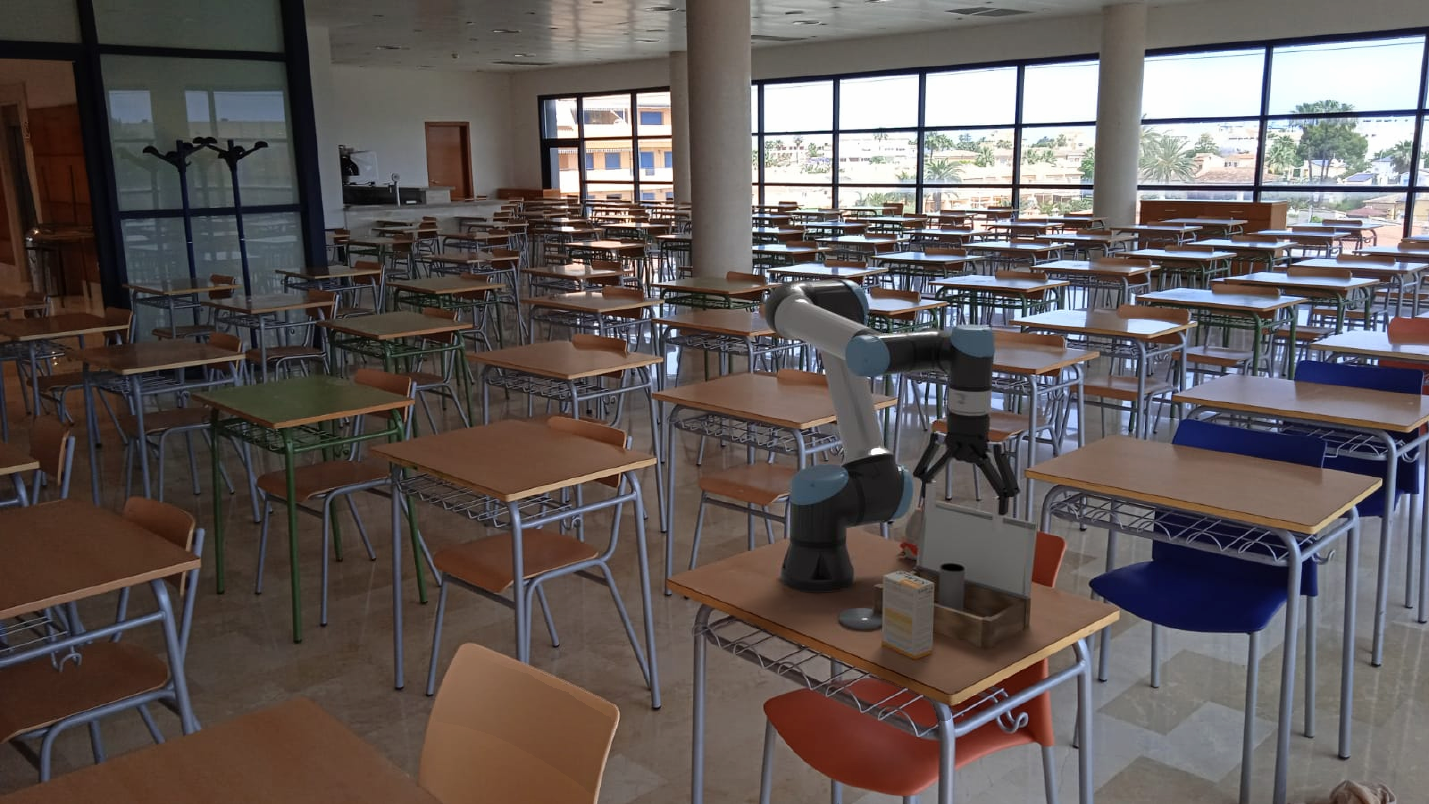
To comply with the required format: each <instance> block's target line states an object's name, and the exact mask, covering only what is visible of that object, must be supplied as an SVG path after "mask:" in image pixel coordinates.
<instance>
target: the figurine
mask: <svg viewBox="0 0 1429 804" xmlns="http://www.w3.org/2000/svg"><path fill="white" fill-rule="evenodd" d="M921 515H922V508H921V507H917V508H915V509H914V511H913V512H912V513H911V515H910V517H909V519H908V521H907V524H906V526H905V528H904V529H905V530H904V534H901V535H900V536H901V541H902V543H900V544H899V547H900V548H901V549H902V550H901V552H903V553H905V555H906V556H907V559H908V558H909V559H910V560H912V561H913V560H914V561H917V555H918V545H919V535H920V525H921Z"/></svg>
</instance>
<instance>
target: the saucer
mask: <svg viewBox="0 0 1429 804" xmlns="http://www.w3.org/2000/svg"><path fill="white" fill-rule="evenodd" d="M882 615H883V614H882V613H880V612H878V611H876V610H874V609H873V608H866V607H857V608H856V607H855V608H848V609H846V610H844V611H841V613H840V614H839V622H840V623H841V625H843V626H845V627H846V628H850V629H853V630H859V631H870V630H877V629H880V628H882Z"/></svg>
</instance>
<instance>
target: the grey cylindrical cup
mask: <svg viewBox="0 0 1429 804" xmlns="http://www.w3.org/2000/svg"><path fill="white" fill-rule="evenodd" d="M964 577H965V568H964V567H963V566H962V565H959V564H954V563H946V564H942V565H941V566H940V578H939V601H938V604H939V605H942V606H945V607H949V608H952V609H955V610H958V611H962V612H964V609H963V600H964Z"/></svg>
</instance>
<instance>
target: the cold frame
mask: <svg viewBox="0 0 1429 804" xmlns="http://www.w3.org/2000/svg"><path fill="white" fill-rule="evenodd" d="M908 573H909V574H912V575H915V576H917V577H920V578H923V579H925V580H928V581H930V582H933V583H934V601H936V602H939V578H940V576H938V575H935V574H931V573H928V572H924V571H921V570H920V569H916V568H915V567H912V571H910V572H908ZM873 590H874V591H873V610H876V611H878V612H880V613H882V614H883V583H877V584H875V585H874V589H873ZM1031 604H1032V598H1031V597H1030V598H1028V599H1027V600H1026V599H1022V598H1016V597H1012V596H1009V595H1005V594H1002V593H998V592H995V591H991V590H987V589H984V588H980V587H977V586H973V585H970V584H966V583H964V600H963V610H966V611H970V612H972V613H976V614H979V615H982V616H985V617H981V616H978V615H975V614H972V613H969V612H965V611H963V612H962V611H958V610H955V609H952V608H949V607H945V606H942V605H939V603H935V602H934V613H933V633H936V634H937V633H938V634H940V635H944V636H946V637H949V638H952V639H956V640H959V641H963V642H965V643H968V644H970V645H974V646H977V647H980V648H981V649H984V650H987V651H991V650H993V649H994V647H995V646H997V645H999V644H1000V643H1001V642H1003V641H1004V640H1007V638H1010V637H1011V636H1013V635H1014V634H1016V633H1017V632H1020V631H1021V630H1023V629H1026V628H1028V627H1030V622H1031V621H1030V620H1031Z"/></svg>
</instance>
